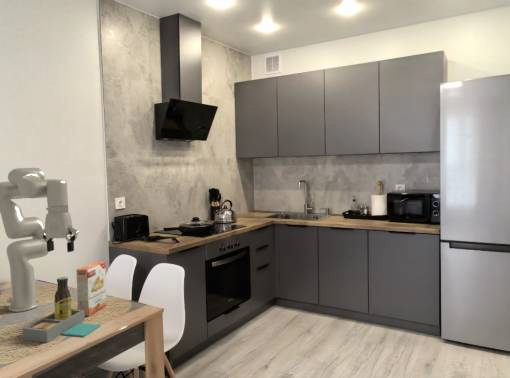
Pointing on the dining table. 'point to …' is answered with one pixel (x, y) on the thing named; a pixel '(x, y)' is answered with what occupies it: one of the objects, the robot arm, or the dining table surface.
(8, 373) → the dining table surface
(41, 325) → the offcut upper
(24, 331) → the rack
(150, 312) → the dining table surface
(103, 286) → the cracker box
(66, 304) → the sauce bottle
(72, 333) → the mat
